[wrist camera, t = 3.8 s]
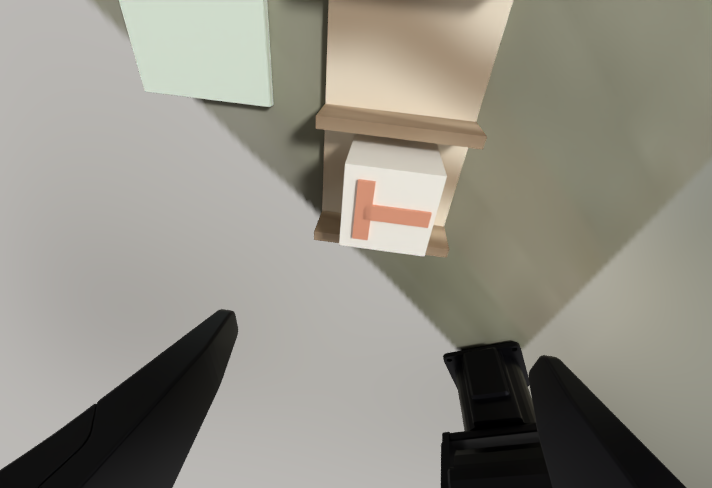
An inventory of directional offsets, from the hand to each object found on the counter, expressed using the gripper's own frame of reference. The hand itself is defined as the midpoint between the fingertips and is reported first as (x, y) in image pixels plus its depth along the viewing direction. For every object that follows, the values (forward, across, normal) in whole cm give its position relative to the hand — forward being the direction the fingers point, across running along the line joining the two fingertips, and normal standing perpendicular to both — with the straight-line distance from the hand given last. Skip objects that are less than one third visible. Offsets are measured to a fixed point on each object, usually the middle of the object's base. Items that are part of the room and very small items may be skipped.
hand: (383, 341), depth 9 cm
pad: (+12, +10, -7) cm, 17 cm away
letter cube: (+12, 0, 0) cm, 12 cm away
